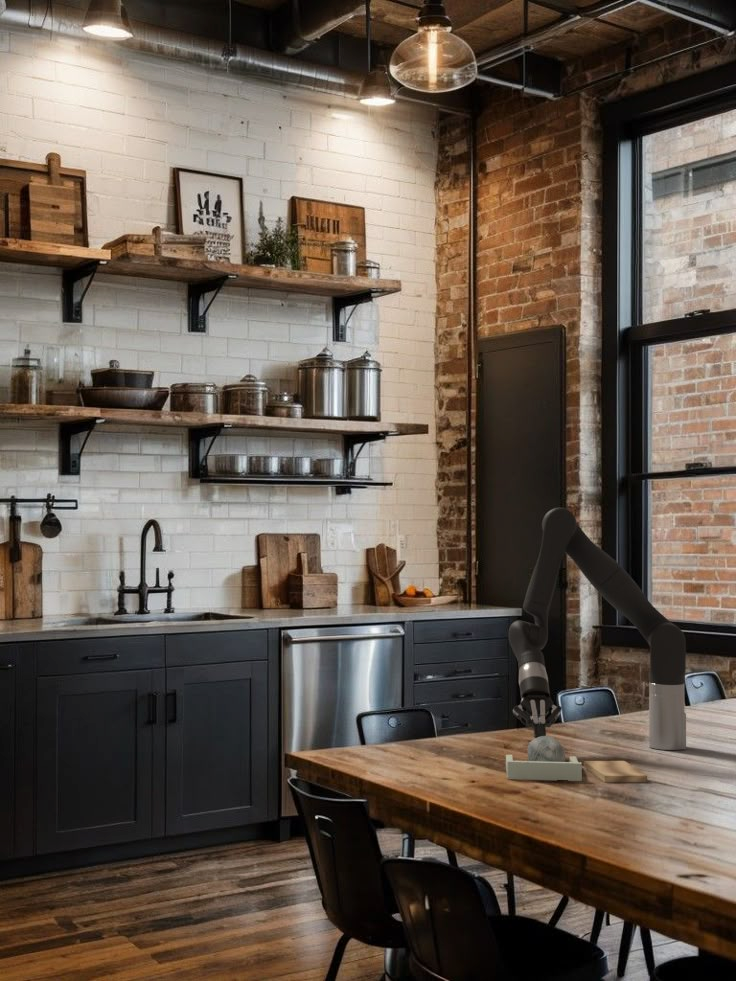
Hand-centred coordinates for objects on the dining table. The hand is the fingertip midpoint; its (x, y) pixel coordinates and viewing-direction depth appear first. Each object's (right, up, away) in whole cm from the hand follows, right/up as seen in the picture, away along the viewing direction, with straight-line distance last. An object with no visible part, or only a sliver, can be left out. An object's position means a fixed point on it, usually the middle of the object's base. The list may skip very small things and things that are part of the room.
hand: (540, 738), depth 304 cm
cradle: (-2, -5, -16) cm, 16 cm away
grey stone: (-1, -5, -15) cm, 16 cm away
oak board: (+15, -5, -18) cm, 24 cm away
